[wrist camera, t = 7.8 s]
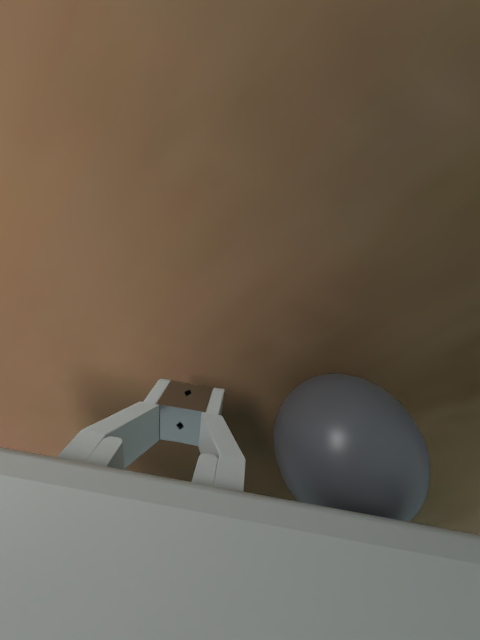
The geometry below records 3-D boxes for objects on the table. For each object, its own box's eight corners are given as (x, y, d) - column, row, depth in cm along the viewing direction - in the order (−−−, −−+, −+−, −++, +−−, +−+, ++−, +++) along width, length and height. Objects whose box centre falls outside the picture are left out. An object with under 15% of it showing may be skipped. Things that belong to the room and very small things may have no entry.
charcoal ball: (490, 626, 5) (454, 456, 9) (363, 402, 6) (384, 338, 10) (292, 565, 9) (332, 461, 13) (225, 429, 9) (284, 373, 13)
